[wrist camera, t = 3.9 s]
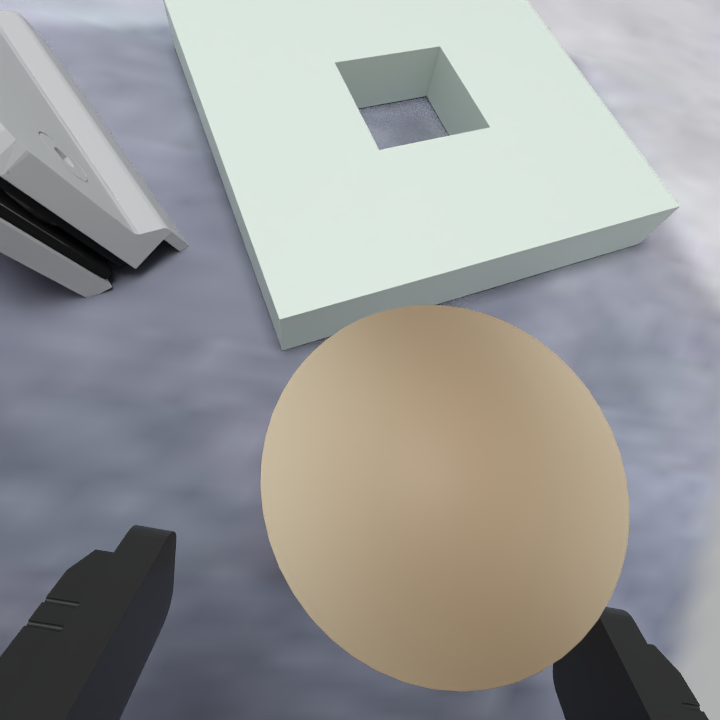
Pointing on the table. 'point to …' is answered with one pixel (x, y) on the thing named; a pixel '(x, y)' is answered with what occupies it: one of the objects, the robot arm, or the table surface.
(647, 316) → the table surface
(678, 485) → the table surface
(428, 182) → the collar block
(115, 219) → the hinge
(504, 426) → the birch pin
